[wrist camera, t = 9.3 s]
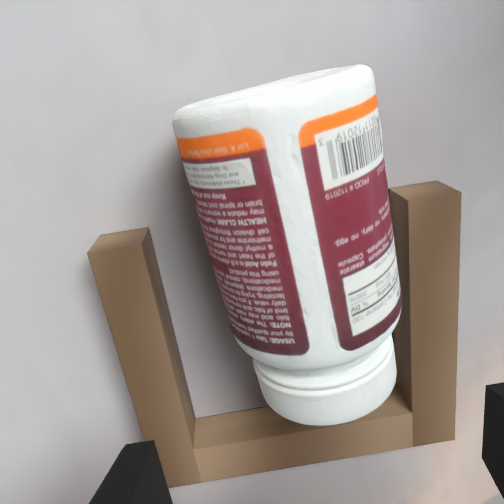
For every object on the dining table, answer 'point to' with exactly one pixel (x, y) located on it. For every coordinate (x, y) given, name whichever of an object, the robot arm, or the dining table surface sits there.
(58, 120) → the dining table surface
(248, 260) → the pill bottle
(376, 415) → the socket block
